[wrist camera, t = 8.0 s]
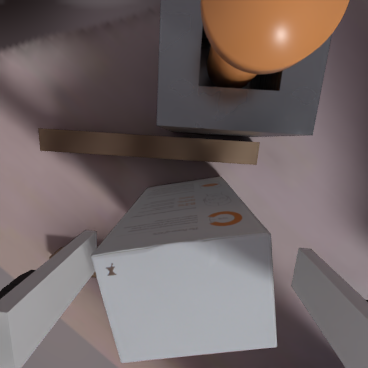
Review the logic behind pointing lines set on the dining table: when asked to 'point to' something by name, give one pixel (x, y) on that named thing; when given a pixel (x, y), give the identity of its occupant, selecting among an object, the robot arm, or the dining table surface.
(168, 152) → the track
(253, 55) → the orange piece
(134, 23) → the dining table surface
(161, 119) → the grey block with hole
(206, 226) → the small box
